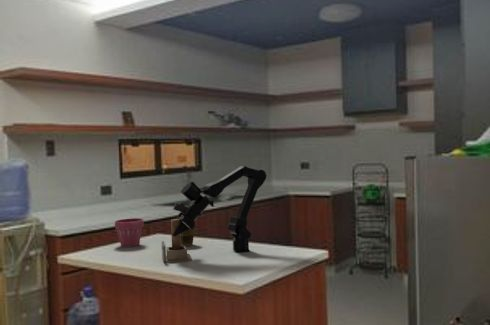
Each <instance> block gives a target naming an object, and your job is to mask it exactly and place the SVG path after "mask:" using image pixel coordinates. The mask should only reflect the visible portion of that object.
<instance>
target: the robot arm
mask: <svg viewBox="0 0 490 325" xmlns="http://www.w3.org/2000/svg"><path fill="white" fill-rule="evenodd" d="M242 177H244V178H247V188H246V190H245V193H244V196H243V198H242V200H241V203H240V206H239V208H238V211H237V213H236V215H235V216H230V219H229V222H228V223H227V229H228V232H229V233H230V235H231V236H232V237H233V240H232V250H233V251H234V252H235V253H244V252H250V251H251V250H250V247H249V246H250V245H249V243H250V242H249V239H250V238H251V236H252V233H251V232H250V231H249V230H248V229H247V227H248V215H249V213H250V210H251V208H252V205H253V203H254V200H255V198H256V196H257V193H258V190H259V189H260V188H261V187H262V186H263V185H264V183H265V181H266V180H267V177H268V176H267V172H265V170H264V169H254V168H251V167H249V166H244V165H240V166H238V167H237V168H236V169H234V170H233V171H231V172H229V173H228V174H226V175H225V176H223V177H222V178H219V179H218V180H215V181H211V182H208V183H207V184H205V185H203V187H199V186H197V184H195V182H194V181H189V183H187V184H185V186H183V187H182V188H181V191H180V193H181V194H182V195H183V196H184V197H185V198H187V200H189V201H190V202H193V203H191V204H188V206H187V205H186V204H185V203H184V202H178V201H175V202H174V205H173V208H172V209H173V210H174V211H177V212H178V214H177V219H179V225H178V227H177V229H176V230H175V232H174V233H173V236H176V235H178V234H181V233H183V232H185V231H187V230H190V228H191V229H193V228H194V227H195V228H196V220H197V219H198V218H199V217H201V216H202V213H203V212H204V211H205V210H206V209H207V208H208V206H209V205H210V206H211V207H212V208H213V207H214V206H215V205H214V202H215V201H214V199H215V198H217V197H218V196H219V195H221V194H222V193H223V191H224V190H225V189H226V188H227V187H228V186H230V185H232V184H233V183H234V182H236V181H238V180H239V179H241V178H242ZM203 195H204V196H203ZM210 198H213V199H210ZM189 227H190V228H189Z"/></svg>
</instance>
